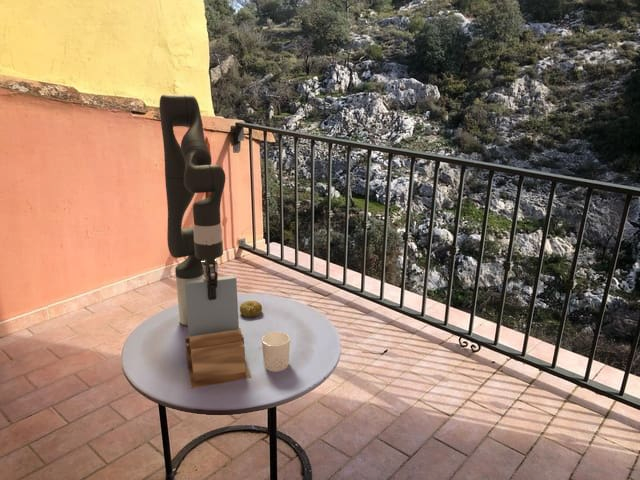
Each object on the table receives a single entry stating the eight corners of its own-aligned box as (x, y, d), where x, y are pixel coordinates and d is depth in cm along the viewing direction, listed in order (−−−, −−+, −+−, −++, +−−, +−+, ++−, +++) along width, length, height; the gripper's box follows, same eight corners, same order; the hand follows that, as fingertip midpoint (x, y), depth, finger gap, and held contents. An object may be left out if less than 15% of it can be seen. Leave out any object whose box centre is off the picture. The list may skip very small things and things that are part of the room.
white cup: (279, 380, 133) (278, 348, 130) (257, 371, 137) (256, 340, 134) (295, 367, 139) (295, 336, 136) (273, 359, 143) (273, 329, 140)
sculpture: (266, 302, 171) (251, 310, 165) (266, 312, 173) (251, 321, 166) (250, 297, 176) (234, 304, 170) (250, 307, 177) (235, 314, 171)
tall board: (189, 345, 138) (184, 281, 132) (238, 337, 142) (235, 275, 136) (190, 348, 136) (184, 284, 130) (239, 340, 140) (236, 278, 134)
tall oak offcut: (192, 368, 135) (189, 336, 132) (241, 359, 140) (240, 329, 137) (193, 373, 133) (190, 341, 130) (243, 365, 137) (241, 334, 134)
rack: (187, 361, 141) (185, 336, 139) (241, 352, 146) (240, 328, 144) (191, 393, 127) (189, 365, 124) (251, 382, 132) (250, 355, 129)
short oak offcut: (193, 374, 132) (191, 349, 130) (243, 366, 137) (242, 341, 134) (194, 380, 129) (192, 354, 127) (245, 371, 134) (244, 346, 131)
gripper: (191, 232, 134) (195, 289, 140) (196, 248, 122) (200, 309, 127) (218, 230, 137) (221, 286, 142) (226, 245, 124) (228, 306, 130)
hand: (211, 297), depth 135 cm, fingers closed on tall board, 2 cm apart
